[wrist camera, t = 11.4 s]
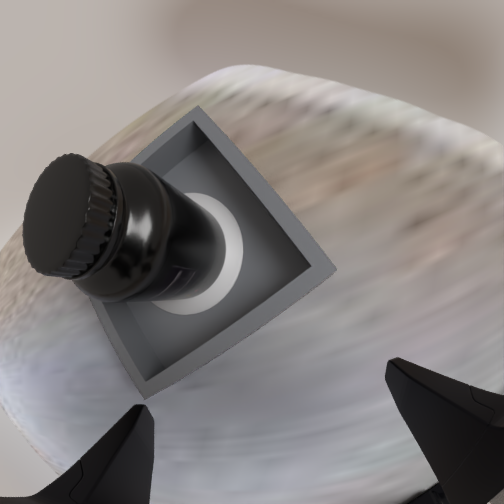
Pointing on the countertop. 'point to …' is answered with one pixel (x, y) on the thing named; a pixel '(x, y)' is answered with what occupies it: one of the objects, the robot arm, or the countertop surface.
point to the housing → (235, 266)
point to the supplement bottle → (120, 232)
